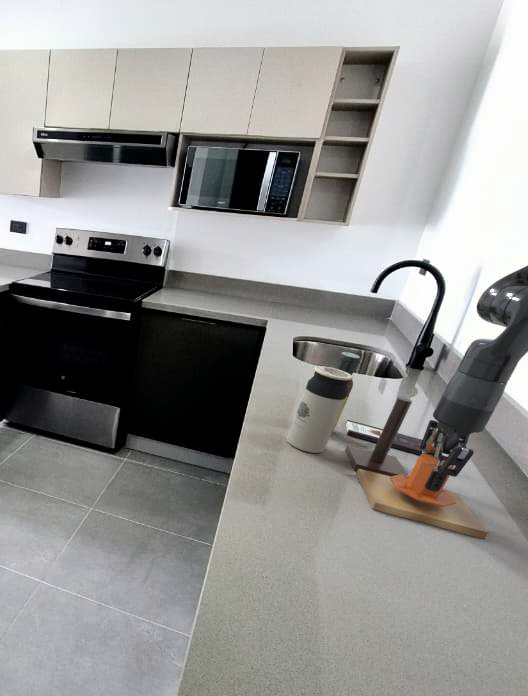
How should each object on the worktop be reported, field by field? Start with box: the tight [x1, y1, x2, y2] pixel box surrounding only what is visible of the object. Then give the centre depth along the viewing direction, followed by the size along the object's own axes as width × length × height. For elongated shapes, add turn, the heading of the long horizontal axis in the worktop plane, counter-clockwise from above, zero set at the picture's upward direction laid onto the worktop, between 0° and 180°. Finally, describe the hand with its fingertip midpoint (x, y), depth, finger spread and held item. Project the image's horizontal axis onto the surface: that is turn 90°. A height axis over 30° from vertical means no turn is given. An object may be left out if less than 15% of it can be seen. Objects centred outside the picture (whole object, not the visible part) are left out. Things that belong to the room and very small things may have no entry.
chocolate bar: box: [345, 419, 423, 456], centre depth 124 cm, size 9×1×18 cm
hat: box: [390, 454, 456, 507], centre depth 94 cm, size 10×10×6 cm
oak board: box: [355, 469, 489, 540], centre depth 96 cm, size 18×14×2 cm
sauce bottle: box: [331, 351, 361, 434], centre depth 121 cm, size 7×6×20 cm
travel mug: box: [286, 365, 353, 454], centre depth 111 cm, size 8×8×18 cm
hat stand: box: [344, 396, 413, 476], centre depth 106 cm, size 10×10×16 cm
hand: (426, 482), depth 94 cm, fingers closed on hat, 5 cm apart
